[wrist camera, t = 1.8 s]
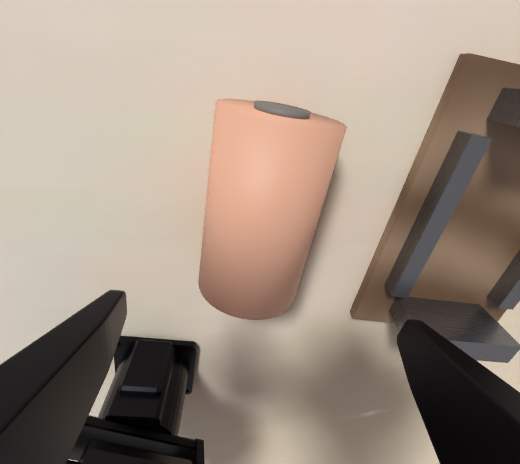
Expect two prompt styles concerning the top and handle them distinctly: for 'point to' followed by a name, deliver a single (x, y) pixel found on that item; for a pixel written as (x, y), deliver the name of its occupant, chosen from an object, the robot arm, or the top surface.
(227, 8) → the top surface
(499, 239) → the roll cradle
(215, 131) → the roll
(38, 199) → the top surface
